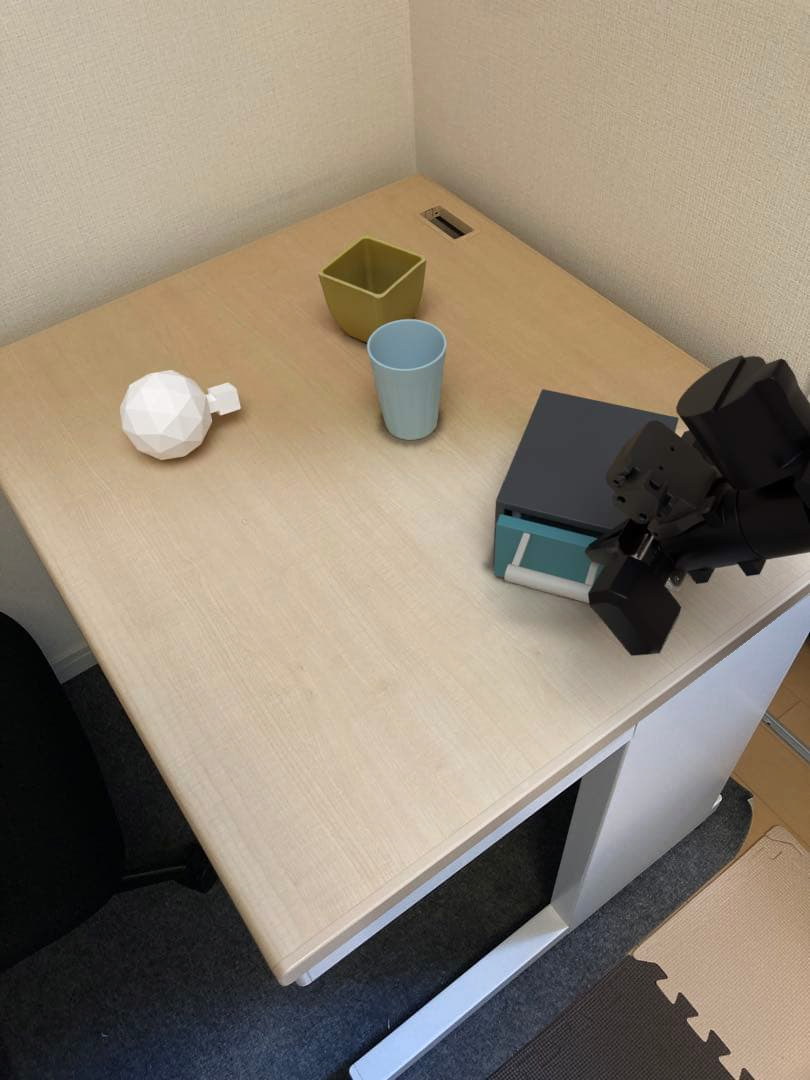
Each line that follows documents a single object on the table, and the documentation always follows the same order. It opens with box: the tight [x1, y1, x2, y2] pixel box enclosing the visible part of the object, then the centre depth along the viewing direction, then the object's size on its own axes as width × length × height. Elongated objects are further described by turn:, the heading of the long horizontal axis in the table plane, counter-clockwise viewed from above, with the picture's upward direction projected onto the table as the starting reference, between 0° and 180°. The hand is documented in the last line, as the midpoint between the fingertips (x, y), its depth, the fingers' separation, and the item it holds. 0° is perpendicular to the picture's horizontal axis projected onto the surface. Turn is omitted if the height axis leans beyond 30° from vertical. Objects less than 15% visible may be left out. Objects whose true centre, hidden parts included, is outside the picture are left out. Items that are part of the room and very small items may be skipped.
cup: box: [366, 318, 448, 441], centre depth 92 cm, size 8×8×10 cm
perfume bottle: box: [119, 369, 242, 461], centre depth 92 cm, size 9×9×12 cm
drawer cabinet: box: [492, 388, 679, 566], centre depth 82 cm, size 15×13×9 cm
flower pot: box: [317, 234, 427, 344], centre depth 102 cm, size 9×9×9 cm
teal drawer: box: [493, 511, 604, 604], centre depth 80 cm, size 18×11×7 cm, turn 159°
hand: (589, 553), depth 72 cm, fingers closed
